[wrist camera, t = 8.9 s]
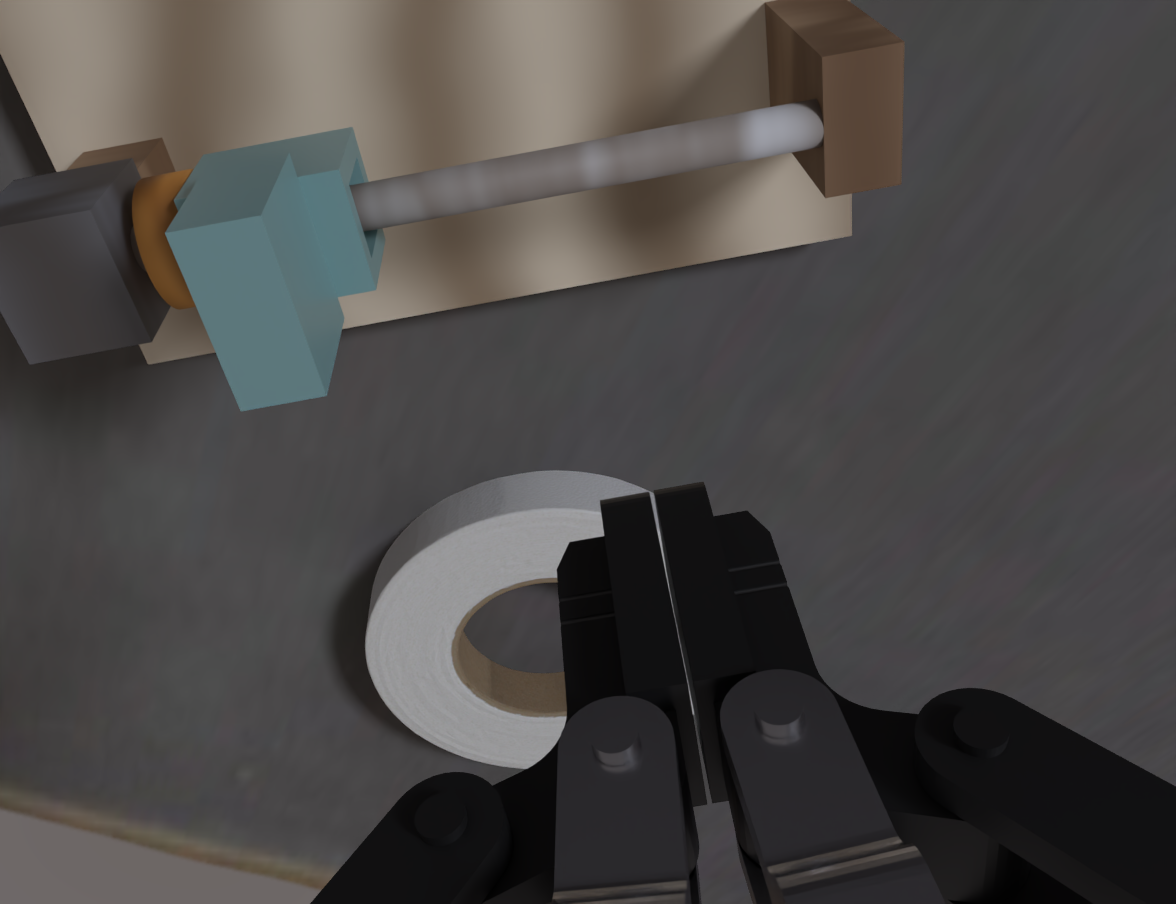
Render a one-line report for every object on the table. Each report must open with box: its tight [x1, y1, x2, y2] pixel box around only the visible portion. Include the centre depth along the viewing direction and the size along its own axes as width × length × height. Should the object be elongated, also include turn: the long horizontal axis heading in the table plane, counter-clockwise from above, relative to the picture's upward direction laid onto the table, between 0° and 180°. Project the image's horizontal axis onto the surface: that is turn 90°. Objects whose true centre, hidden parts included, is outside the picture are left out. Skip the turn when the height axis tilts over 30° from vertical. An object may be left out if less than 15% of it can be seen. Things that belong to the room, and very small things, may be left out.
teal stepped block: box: [165, 127, 386, 411], centre depth 25 cm, size 4×4×7 cm
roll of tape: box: [365, 471, 694, 769], centre depth 44 cm, size 16×15×3 cm
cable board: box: [0, 0, 904, 365], centre depth 29 cm, size 24×12×9 cm, turn 99°
